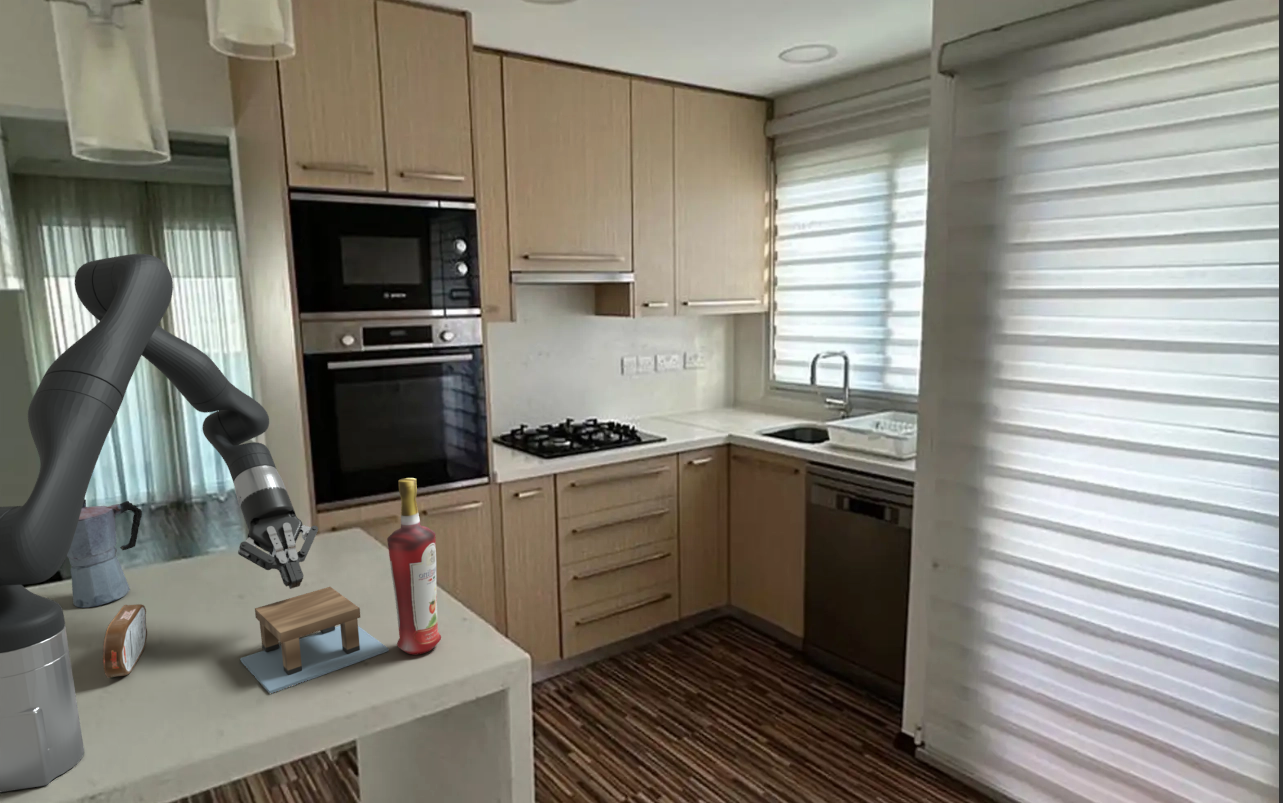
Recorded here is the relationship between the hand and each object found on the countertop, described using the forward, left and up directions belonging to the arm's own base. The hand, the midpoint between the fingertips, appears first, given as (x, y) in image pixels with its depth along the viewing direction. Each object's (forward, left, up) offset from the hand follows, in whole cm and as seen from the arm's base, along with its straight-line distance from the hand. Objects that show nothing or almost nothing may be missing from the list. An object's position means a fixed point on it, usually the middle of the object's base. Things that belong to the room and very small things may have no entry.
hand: (296, 585), depth 122 cm
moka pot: (+32, +42, -11) cm, 54 cm away
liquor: (-7, -19, -11) cm, 23 cm away
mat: (-5, -3, -10) cm, 12 cm away
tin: (+1, +26, -11) cm, 28 cm away
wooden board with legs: (+2, +1, -6) cm, 7 cm away
